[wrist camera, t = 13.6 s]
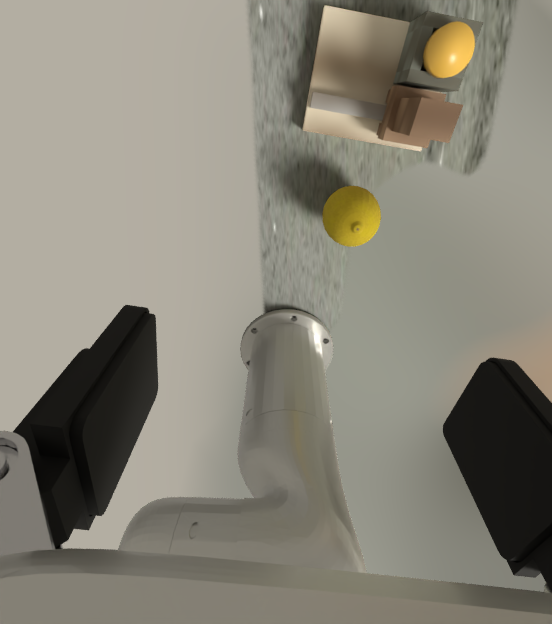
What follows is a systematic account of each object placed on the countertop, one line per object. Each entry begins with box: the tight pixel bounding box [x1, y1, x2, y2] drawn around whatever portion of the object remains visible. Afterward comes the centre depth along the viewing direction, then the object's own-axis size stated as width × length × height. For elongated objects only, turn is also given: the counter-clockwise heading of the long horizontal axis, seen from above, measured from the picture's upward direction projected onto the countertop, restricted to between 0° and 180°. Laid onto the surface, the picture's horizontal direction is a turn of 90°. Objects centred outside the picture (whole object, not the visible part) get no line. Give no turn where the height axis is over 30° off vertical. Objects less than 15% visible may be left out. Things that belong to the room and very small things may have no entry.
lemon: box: [323, 186, 381, 246], centre depth 34 cm, size 6×6×8 cm
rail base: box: [302, 5, 483, 151], centre depth 29 cm, size 9×12×6 cm
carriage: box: [376, 85, 463, 148], centre depth 28 cm, size 4×4×8 cm
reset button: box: [420, 21, 475, 78], centre depth 27 cm, size 3×3×5 cm
